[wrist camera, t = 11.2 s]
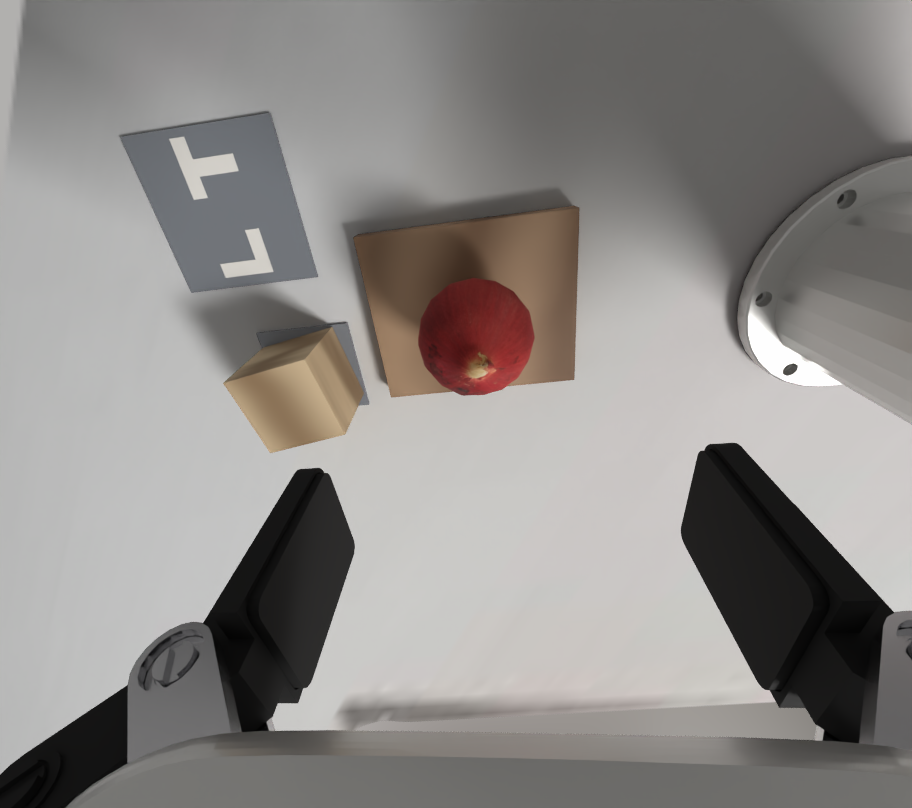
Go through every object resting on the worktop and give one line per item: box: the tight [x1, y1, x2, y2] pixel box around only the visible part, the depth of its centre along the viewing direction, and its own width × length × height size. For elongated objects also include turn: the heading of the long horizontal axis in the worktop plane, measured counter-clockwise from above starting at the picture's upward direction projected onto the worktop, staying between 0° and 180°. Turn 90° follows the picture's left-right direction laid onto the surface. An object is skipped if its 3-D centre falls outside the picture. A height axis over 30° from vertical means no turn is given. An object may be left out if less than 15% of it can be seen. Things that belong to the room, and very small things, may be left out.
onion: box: [418, 278, 535, 395], centre depth 20 cm, size 6×6×8 cm
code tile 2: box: [257, 323, 369, 406], centre depth 27 cm, size 6×6×1 cm
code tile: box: [120, 113, 318, 293], centre depth 22 cm, size 8×8×1 cm
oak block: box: [223, 327, 364, 453], centre depth 25 cm, size 5×5×5 cm
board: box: [353, 206, 579, 397], centre depth 24 cm, size 12×10×1 cm
